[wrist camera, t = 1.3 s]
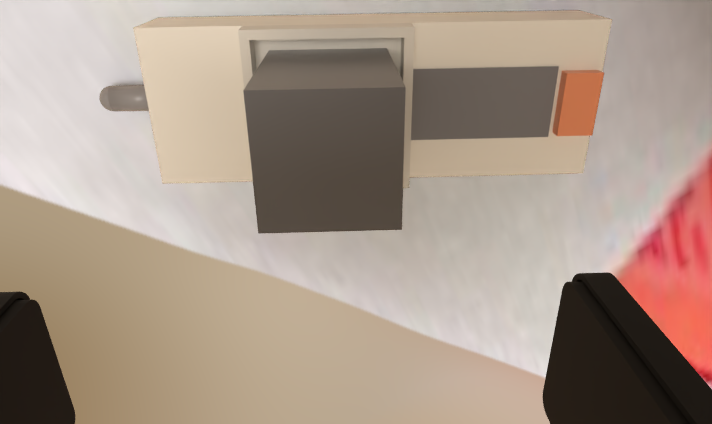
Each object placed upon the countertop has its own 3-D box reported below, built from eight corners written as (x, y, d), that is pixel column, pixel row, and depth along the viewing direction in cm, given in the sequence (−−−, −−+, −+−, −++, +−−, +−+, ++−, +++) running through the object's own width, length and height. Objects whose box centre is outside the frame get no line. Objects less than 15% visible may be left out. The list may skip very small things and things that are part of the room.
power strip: (578, 10, 26) (625, 22, 22) (556, 148, 29) (593, 183, 25) (94, 18, 25) (45, 33, 21) (124, 158, 28) (87, 195, 24)
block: (386, 47, 23) (405, 87, 17) (385, 159, 25) (401, 231, 19) (268, 50, 23) (243, 90, 16) (278, 162, 25) (258, 235, 19)
